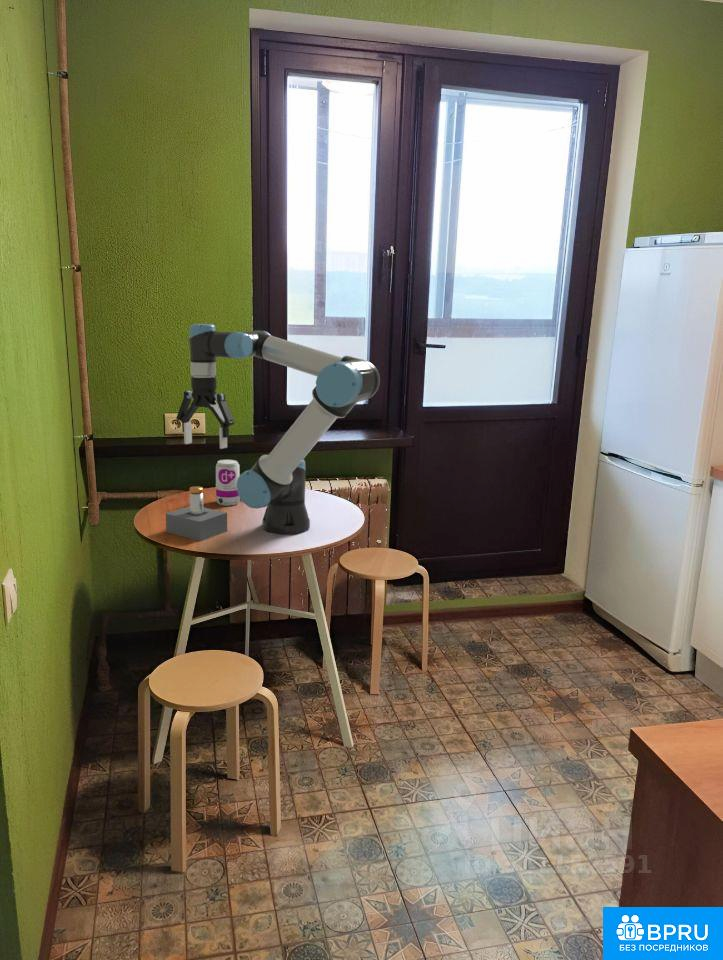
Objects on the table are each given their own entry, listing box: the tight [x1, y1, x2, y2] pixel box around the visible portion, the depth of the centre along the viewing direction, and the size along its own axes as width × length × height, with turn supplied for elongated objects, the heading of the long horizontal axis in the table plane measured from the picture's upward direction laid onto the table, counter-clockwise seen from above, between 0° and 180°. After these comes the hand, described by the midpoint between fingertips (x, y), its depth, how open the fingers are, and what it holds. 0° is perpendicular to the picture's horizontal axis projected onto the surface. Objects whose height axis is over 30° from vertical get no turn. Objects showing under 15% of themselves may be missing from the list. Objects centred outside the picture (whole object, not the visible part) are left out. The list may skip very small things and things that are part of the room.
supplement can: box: [215, 459, 241, 507], centre depth 259 cm, size 8×8×15 cm
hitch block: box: [165, 505, 228, 542], centre depth 228 cm, size 14×12×6 cm
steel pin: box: [189, 485, 204, 516], centre depth 227 cm, size 4×4×14 cm
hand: (205, 445), depth 227 cm, fingers open, 13 cm apart
